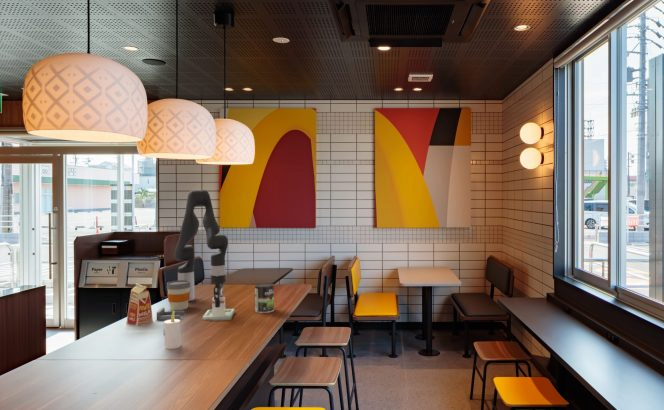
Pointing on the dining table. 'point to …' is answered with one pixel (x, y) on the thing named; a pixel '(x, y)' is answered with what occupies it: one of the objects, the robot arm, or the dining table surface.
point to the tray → (227, 316)
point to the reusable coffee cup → (178, 294)
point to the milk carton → (139, 306)
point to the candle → (172, 333)
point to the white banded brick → (218, 310)
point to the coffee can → (264, 298)
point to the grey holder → (169, 315)
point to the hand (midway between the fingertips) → (218, 305)
